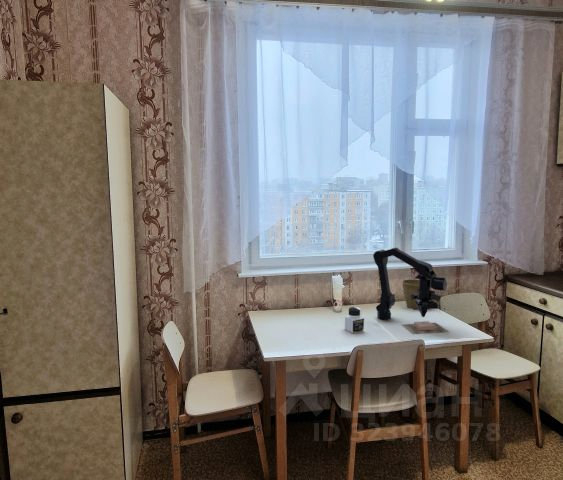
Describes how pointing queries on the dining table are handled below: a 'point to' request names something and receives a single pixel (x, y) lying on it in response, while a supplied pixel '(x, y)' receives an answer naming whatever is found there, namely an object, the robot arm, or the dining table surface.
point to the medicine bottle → (354, 321)
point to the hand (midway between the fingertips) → (423, 316)
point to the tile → (424, 325)
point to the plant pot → (410, 292)
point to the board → (414, 330)
